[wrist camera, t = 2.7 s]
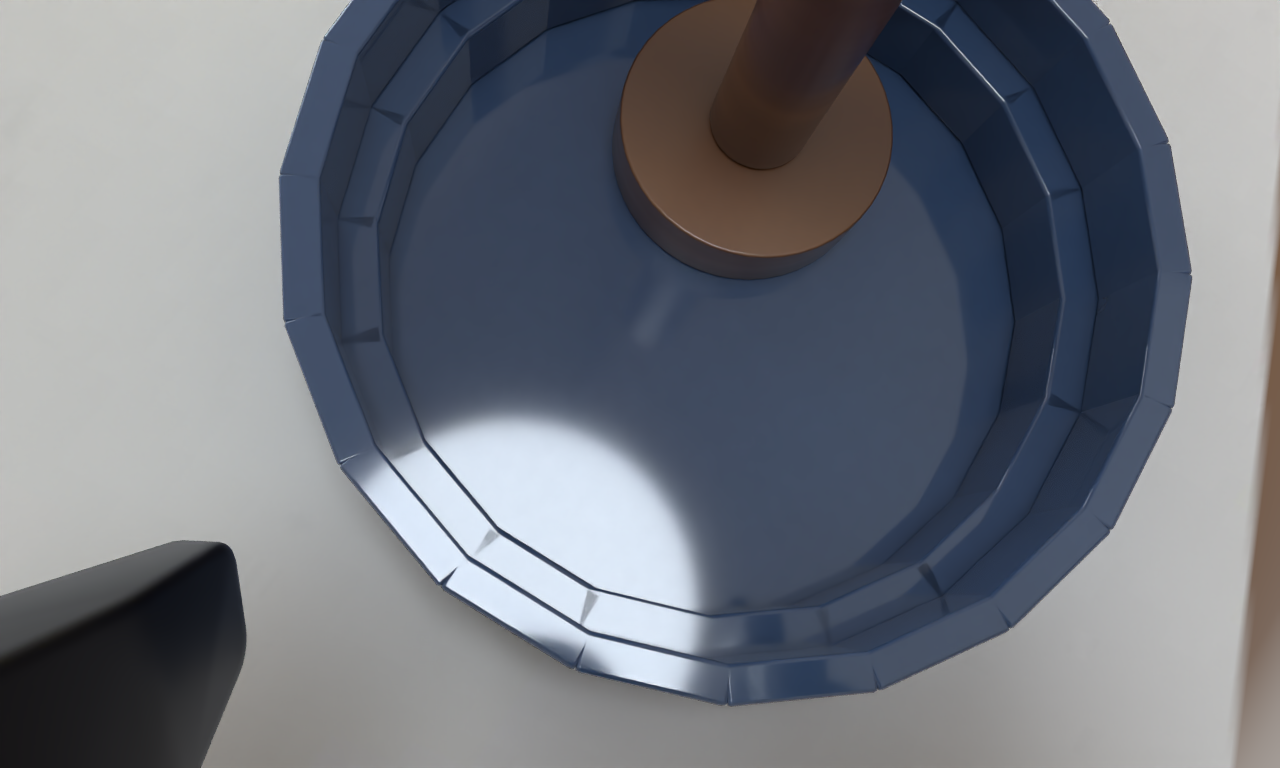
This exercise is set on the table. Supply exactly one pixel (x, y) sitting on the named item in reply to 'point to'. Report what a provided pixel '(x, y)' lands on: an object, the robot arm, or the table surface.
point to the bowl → (734, 343)
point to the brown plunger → (755, 132)
